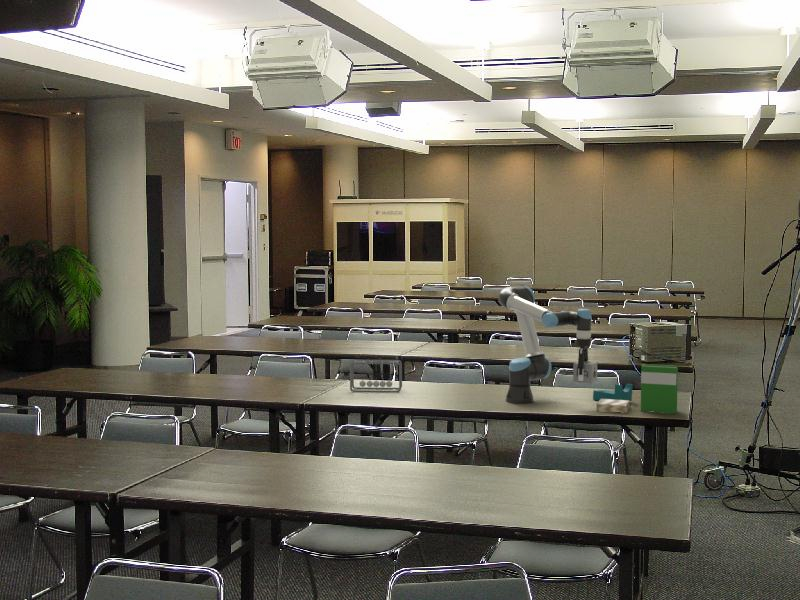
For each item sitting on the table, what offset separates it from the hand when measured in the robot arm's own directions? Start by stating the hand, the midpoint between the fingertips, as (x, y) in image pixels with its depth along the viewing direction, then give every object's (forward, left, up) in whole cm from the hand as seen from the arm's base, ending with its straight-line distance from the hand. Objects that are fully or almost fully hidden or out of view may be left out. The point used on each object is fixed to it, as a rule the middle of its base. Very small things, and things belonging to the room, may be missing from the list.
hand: (582, 379), depth 498 cm
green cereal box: (+39, +4, -16) cm, 42 cm away
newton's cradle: (-123, +7, -16) cm, 124 cm away
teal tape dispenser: (+12, +23, -16) cm, 30 cm away
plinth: (+16, 0, -15) cm, 22 cm away
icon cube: (+1, 0, -1) cm, 2 cm away
